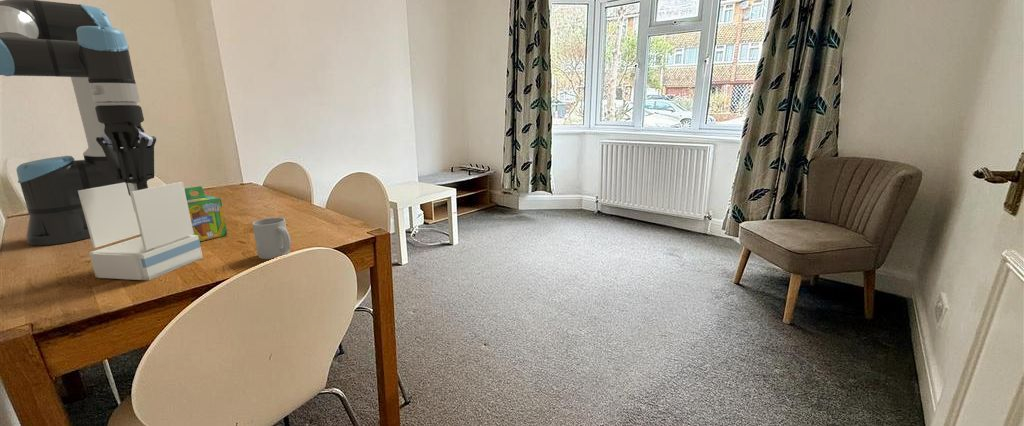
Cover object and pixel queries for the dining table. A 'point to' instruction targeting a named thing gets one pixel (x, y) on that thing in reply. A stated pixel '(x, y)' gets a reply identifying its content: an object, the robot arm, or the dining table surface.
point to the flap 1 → (109, 214)
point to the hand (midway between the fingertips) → (142, 210)
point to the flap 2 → (162, 214)
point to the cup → (271, 237)
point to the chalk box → (206, 214)
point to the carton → (144, 258)
